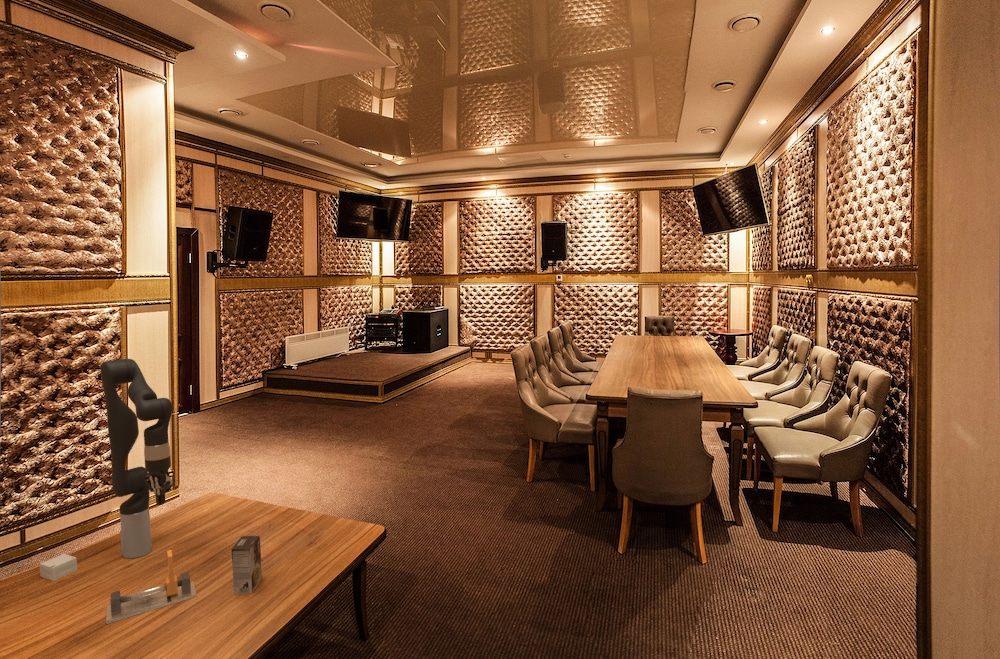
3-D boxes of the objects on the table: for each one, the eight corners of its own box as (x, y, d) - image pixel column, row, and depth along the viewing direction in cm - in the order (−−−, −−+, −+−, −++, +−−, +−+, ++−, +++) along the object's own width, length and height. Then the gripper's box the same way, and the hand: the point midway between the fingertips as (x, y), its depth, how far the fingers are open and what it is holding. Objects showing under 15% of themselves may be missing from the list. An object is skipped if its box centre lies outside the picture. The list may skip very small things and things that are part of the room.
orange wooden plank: (167, 596, 172) (164, 558, 170) (166, 589, 176) (163, 551, 174) (178, 593, 173) (175, 555, 172) (177, 586, 177) (174, 548, 176)
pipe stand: (106, 624, 161) (104, 605, 160) (107, 609, 168) (105, 591, 168) (196, 596, 175) (195, 579, 174) (193, 583, 182) (192, 567, 181)
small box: (65, 566, 194) (64, 552, 193) (78, 570, 191) (77, 557, 190) (40, 577, 187) (38, 563, 186) (53, 582, 184) (52, 568, 183)
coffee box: (243, 579, 185) (241, 535, 183) (262, 578, 185) (260, 534, 184) (232, 595, 176) (230, 549, 174) (252, 594, 176) (250, 548, 175)
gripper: (181, 454, 183) (184, 502, 185) (154, 450, 188) (157, 497, 189) (160, 461, 176) (163, 511, 178) (133, 457, 181) (137, 505, 182)
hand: (160, 503), depth 184 cm, fingers closed
